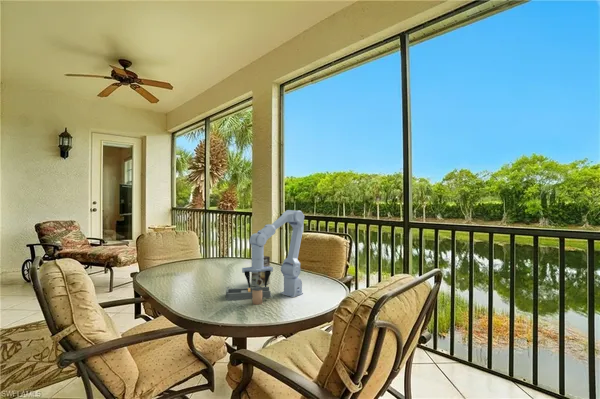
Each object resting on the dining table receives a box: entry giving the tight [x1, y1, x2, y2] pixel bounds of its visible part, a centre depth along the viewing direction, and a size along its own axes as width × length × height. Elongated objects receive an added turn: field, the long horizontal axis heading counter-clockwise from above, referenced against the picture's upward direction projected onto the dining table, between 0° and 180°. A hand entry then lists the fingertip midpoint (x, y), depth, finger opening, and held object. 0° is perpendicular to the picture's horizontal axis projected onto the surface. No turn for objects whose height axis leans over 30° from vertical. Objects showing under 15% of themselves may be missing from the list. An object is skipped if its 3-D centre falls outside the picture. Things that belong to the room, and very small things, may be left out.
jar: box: [251, 286, 264, 306], centre depth 143 cm, size 5×5×7 cm
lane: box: [225, 286, 273, 301], centre depth 153 cm, size 23×9×4 cm, turn 101°
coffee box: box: [250, 255, 271, 287], centre depth 173 cm, size 9×6×16 cm
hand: (257, 286), depth 143 cm, fingers open, 7 cm apart
